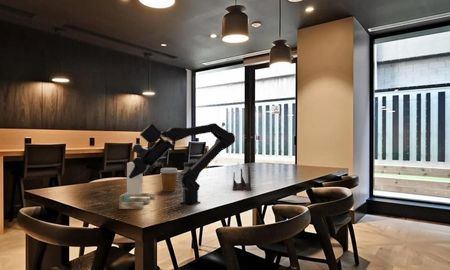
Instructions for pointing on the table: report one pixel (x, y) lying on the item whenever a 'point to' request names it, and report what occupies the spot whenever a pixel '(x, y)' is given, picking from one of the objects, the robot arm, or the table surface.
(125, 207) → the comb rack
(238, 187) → the letter holder
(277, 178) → the table surface
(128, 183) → the plug block
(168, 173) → the disposable coffee cup
